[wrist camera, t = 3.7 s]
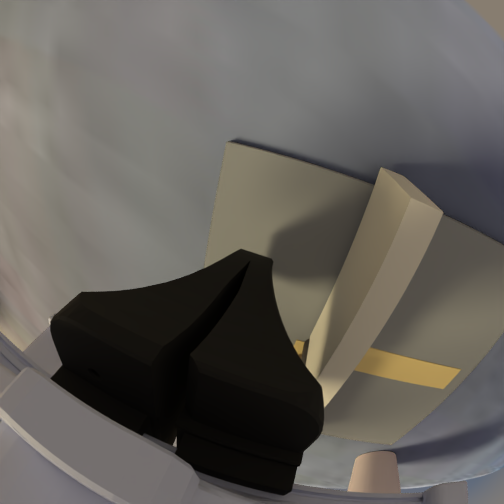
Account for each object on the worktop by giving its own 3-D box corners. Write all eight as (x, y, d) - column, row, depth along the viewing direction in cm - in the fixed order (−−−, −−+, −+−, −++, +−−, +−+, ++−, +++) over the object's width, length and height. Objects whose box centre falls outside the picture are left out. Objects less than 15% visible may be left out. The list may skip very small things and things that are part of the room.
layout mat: (189, 389, 19) (187, 392, 18) (229, 140, 10) (226, 142, 10) (391, 441, 17) (391, 445, 16) (539, 266, 9) (542, 270, 8)
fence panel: (328, 341, 13) (320, 412, 9) (310, 335, 13) (298, 406, 9) (403, 176, 9) (443, 212, 5) (380, 166, 9) (411, 198, 5)
